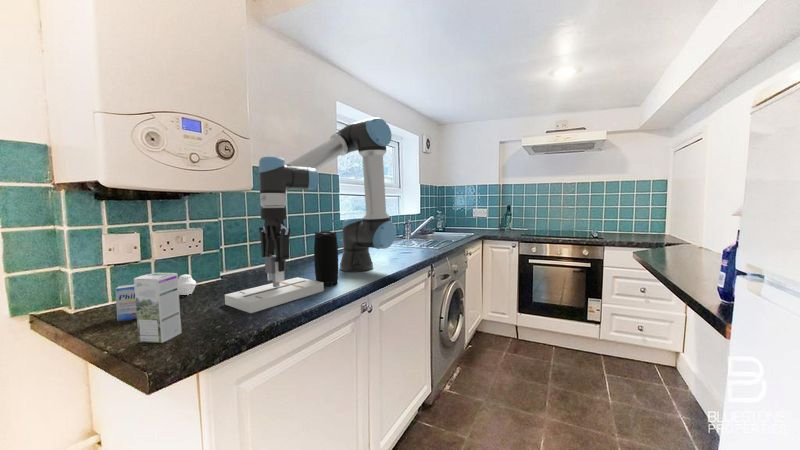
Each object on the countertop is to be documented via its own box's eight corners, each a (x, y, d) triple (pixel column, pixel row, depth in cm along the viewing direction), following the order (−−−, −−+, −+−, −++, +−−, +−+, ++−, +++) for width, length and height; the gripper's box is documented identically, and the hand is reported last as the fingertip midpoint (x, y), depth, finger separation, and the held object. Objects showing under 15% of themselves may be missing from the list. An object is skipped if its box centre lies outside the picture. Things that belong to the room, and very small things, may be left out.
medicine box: (116, 322, 80) (114, 289, 79) (120, 316, 84) (118, 285, 83) (155, 315, 84) (153, 284, 84) (157, 311, 88) (155, 281, 88)
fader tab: (279, 284, 102) (278, 254, 102) (286, 285, 100) (285, 255, 100) (265, 287, 98) (264, 256, 98) (272, 289, 96) (271, 257, 96)
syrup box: (182, 333, 73) (179, 271, 72) (161, 344, 67) (156, 277, 66) (160, 332, 73) (156, 271, 72) (136, 343, 67) (132, 277, 66)
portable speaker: (315, 288, 110) (313, 233, 109) (315, 281, 119) (313, 231, 118) (339, 286, 112) (338, 232, 111) (338, 280, 121) (336, 230, 120)
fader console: (297, 285, 115) (297, 276, 114) (323, 290, 107) (323, 281, 106) (225, 304, 93) (224, 294, 93) (250, 313, 85) (250, 302, 85)
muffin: (197, 295, 103) (196, 274, 103) (174, 298, 100) (173, 277, 99) (196, 290, 108) (194, 271, 108) (174, 294, 105) (173, 273, 104)
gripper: (247, 207, 99) (250, 279, 101) (278, 207, 90) (281, 286, 91) (268, 207, 105) (271, 275, 107) (300, 206, 96) (302, 281, 98)
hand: (276, 280), depth 99 cm, fingers closed on fader tab, 3 cm apart
